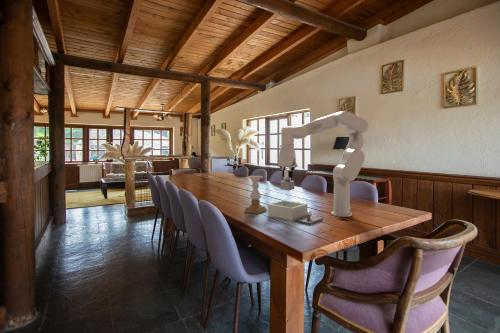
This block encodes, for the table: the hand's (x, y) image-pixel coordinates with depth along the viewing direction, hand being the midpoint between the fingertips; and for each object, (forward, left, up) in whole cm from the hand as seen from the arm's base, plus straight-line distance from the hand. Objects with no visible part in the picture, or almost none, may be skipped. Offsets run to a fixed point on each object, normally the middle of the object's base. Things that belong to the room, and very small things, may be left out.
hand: (287, 177), depth 167 cm
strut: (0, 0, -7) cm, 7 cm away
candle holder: (+3, -24, -25) cm, 35 cm away
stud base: (0, +15, -25) cm, 29 cm away
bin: (0, 0, -25) cm, 25 cm away
